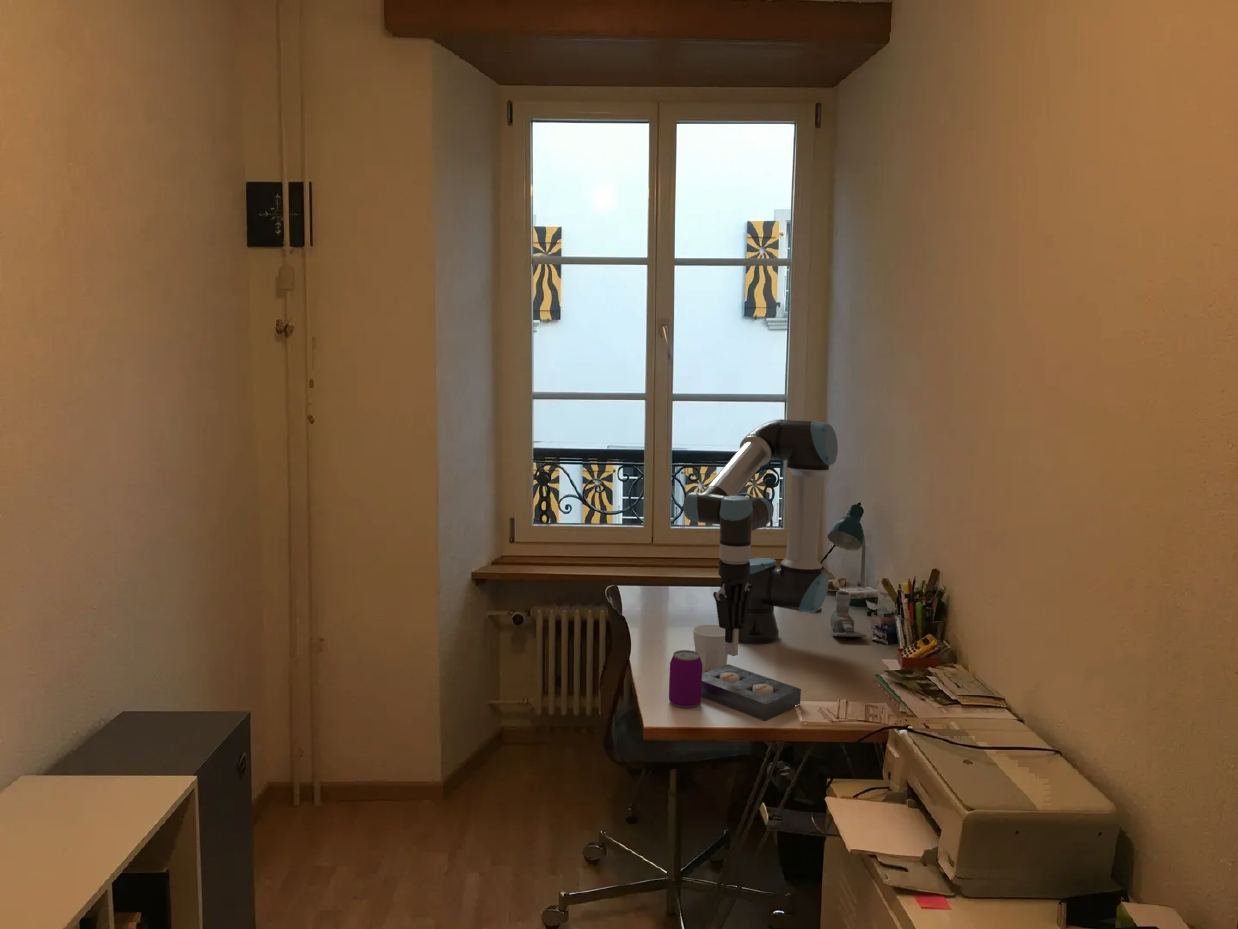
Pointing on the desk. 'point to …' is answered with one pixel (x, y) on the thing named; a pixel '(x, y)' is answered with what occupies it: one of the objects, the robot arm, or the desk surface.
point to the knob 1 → (729, 677)
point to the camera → (843, 617)
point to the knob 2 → (763, 689)
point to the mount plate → (749, 693)
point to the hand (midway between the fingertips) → (731, 654)
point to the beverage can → (685, 679)
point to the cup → (710, 646)
